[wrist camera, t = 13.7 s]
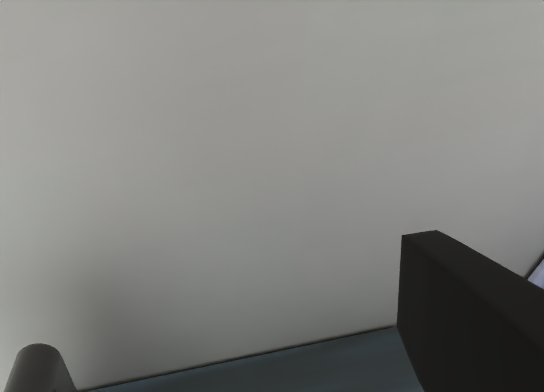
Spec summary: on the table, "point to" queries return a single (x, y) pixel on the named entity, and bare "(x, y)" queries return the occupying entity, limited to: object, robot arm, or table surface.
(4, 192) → the table surface
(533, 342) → the robot arm
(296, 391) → the door
